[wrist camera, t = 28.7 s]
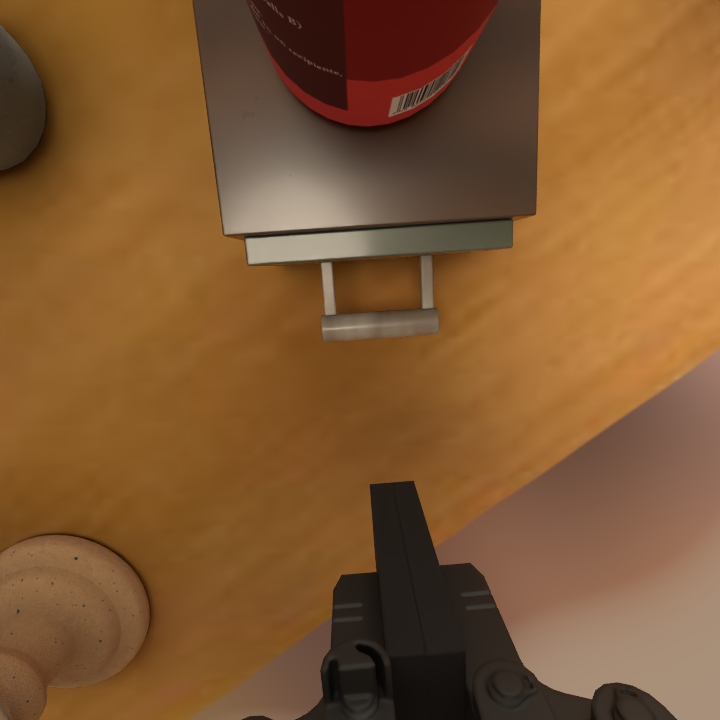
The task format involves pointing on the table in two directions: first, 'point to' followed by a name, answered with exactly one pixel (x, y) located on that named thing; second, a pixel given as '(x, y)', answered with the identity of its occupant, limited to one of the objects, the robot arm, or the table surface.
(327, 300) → the drawer
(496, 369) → the table surface
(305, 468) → the table surface
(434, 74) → the canned food
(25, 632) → the candle holder
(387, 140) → the cabinet
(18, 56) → the bottle
